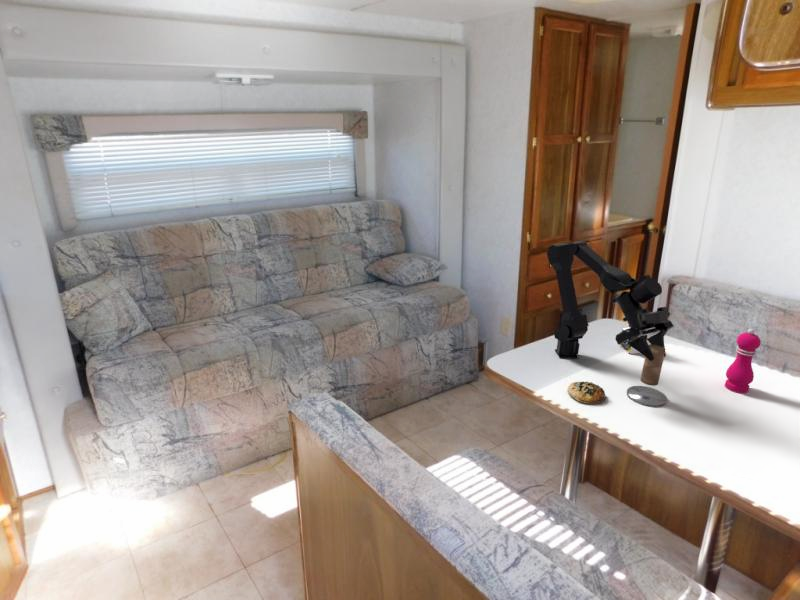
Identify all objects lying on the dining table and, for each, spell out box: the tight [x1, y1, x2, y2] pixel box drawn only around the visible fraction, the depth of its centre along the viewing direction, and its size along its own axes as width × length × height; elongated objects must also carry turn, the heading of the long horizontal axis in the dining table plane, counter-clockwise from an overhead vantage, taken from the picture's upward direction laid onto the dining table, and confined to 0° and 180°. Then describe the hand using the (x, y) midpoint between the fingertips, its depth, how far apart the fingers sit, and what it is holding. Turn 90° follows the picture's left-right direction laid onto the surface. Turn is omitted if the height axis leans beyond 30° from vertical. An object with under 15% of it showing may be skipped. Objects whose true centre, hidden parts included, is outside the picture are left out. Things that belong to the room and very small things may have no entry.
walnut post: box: [640, 344, 666, 387], centre depth 155 cm, size 5×5×11 cm
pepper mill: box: [724, 328, 761, 394], centre depth 161 cm, size 7×7×20 cm
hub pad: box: [626, 385, 668, 408], centre depth 158 cm, size 11×11×1 cm
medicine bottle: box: [619, 325, 650, 355], centre depth 188 cm, size 7×7×12 cm
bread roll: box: [566, 381, 606, 405], centre depth 158 cm, size 11×11×5 cm
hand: (658, 358), depth 153 cm, fingers closed on walnut post, 5 cm apart
